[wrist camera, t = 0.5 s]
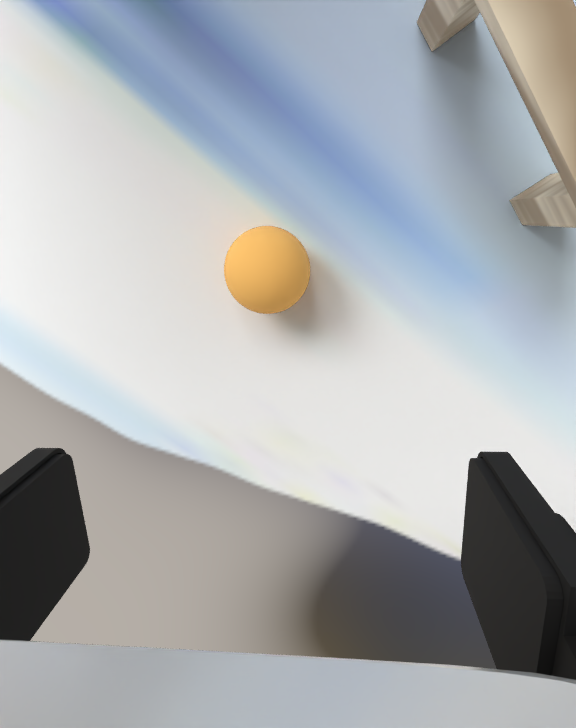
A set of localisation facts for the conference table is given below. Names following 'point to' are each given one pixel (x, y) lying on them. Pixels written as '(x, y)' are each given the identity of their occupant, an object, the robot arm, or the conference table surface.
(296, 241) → the ball
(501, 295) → the conference table surface
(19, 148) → the conference table surface
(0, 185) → the conference table surface
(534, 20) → the bridge
